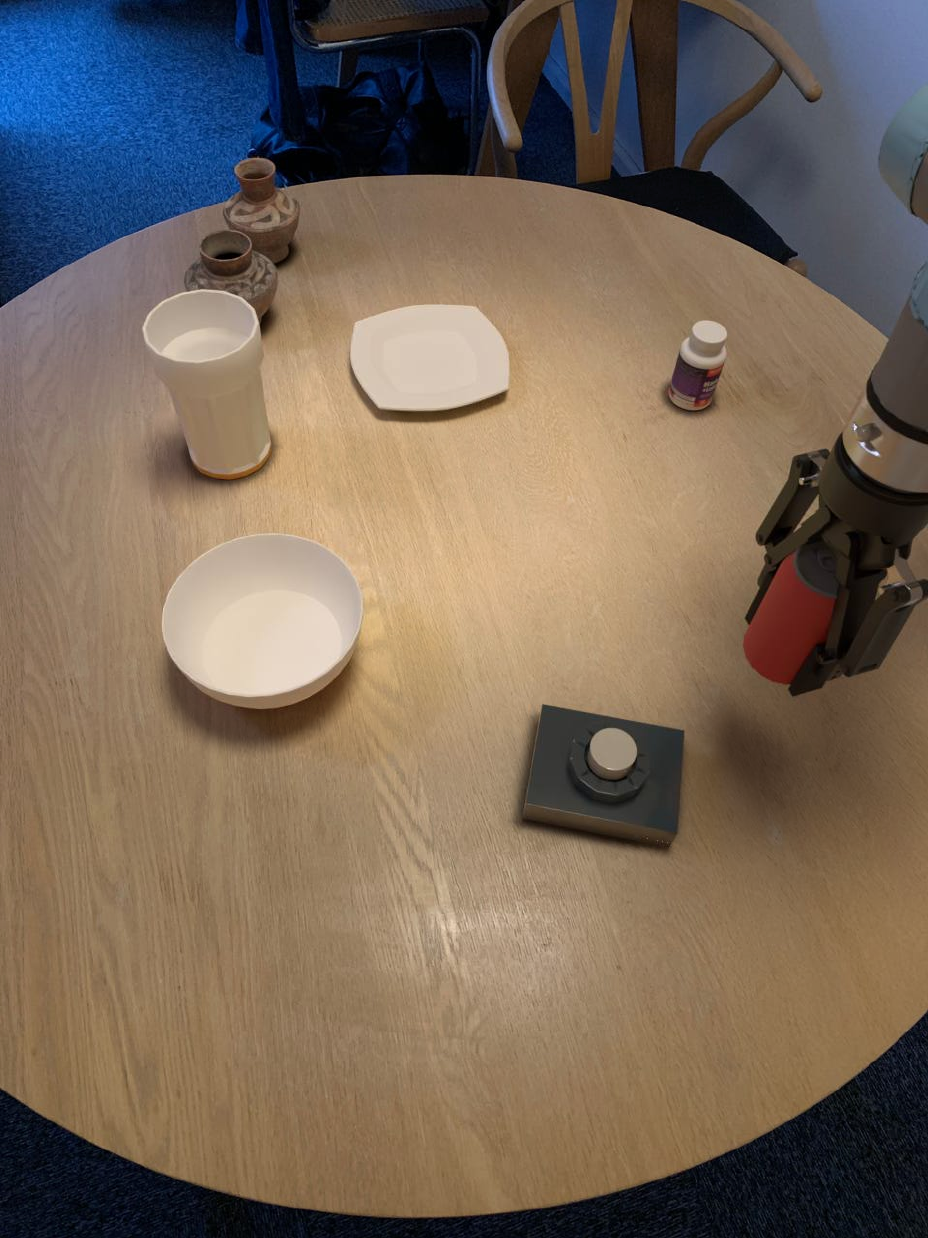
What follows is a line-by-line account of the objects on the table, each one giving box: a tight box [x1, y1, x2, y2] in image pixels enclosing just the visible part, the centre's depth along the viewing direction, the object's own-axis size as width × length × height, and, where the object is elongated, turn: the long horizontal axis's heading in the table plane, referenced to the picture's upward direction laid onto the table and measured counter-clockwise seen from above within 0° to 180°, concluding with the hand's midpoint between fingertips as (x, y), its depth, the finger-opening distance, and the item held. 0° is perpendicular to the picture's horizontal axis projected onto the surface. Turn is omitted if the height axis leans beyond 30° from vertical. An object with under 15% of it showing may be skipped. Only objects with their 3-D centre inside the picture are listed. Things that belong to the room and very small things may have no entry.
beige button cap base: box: [522, 703, 685, 848], centre depth 82 cm, size 13×10×5 cm
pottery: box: [183, 157, 301, 325], centre depth 118 cm, size 11×25×12 cm, turn 173°
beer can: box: [742, 540, 839, 686], centre depth 72 cm, size 7×7×12 cm
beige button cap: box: [587, 728, 637, 780], centre depth 80 cm, size 4×4×2 cm
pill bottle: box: [668, 320, 728, 411], centre depth 110 cm, size 5×5×10 cm
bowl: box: [161, 532, 365, 710], centre depth 88 cm, size 18×18×7 cm
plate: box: [349, 304, 511, 412], centre depth 114 cm, size 19×19×2 cm
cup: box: [141, 289, 273, 480], centre depth 99 cm, size 11×11×17 cm
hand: (782, 652), depth 77 cm, fingers closed on beer can, 7 cm apart
